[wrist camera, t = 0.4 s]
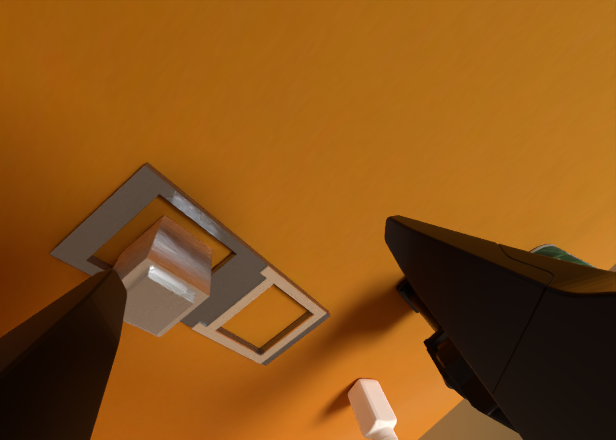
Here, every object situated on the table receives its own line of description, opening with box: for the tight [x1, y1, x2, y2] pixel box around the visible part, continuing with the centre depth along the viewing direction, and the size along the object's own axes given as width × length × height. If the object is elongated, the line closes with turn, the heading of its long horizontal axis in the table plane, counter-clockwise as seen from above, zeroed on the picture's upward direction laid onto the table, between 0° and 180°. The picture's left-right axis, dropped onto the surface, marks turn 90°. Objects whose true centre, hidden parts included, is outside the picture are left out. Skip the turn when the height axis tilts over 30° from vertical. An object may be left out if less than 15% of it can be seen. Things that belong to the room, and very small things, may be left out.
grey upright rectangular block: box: [113, 215, 212, 337], centre depth 21 cm, size 5×5×7 cm
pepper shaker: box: [348, 379, 398, 440], centre depth 38 cm, size 4×4×10 cm
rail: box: [50, 162, 330, 365], centre depth 26 cm, size 24×10×1 cm, turn 37°
